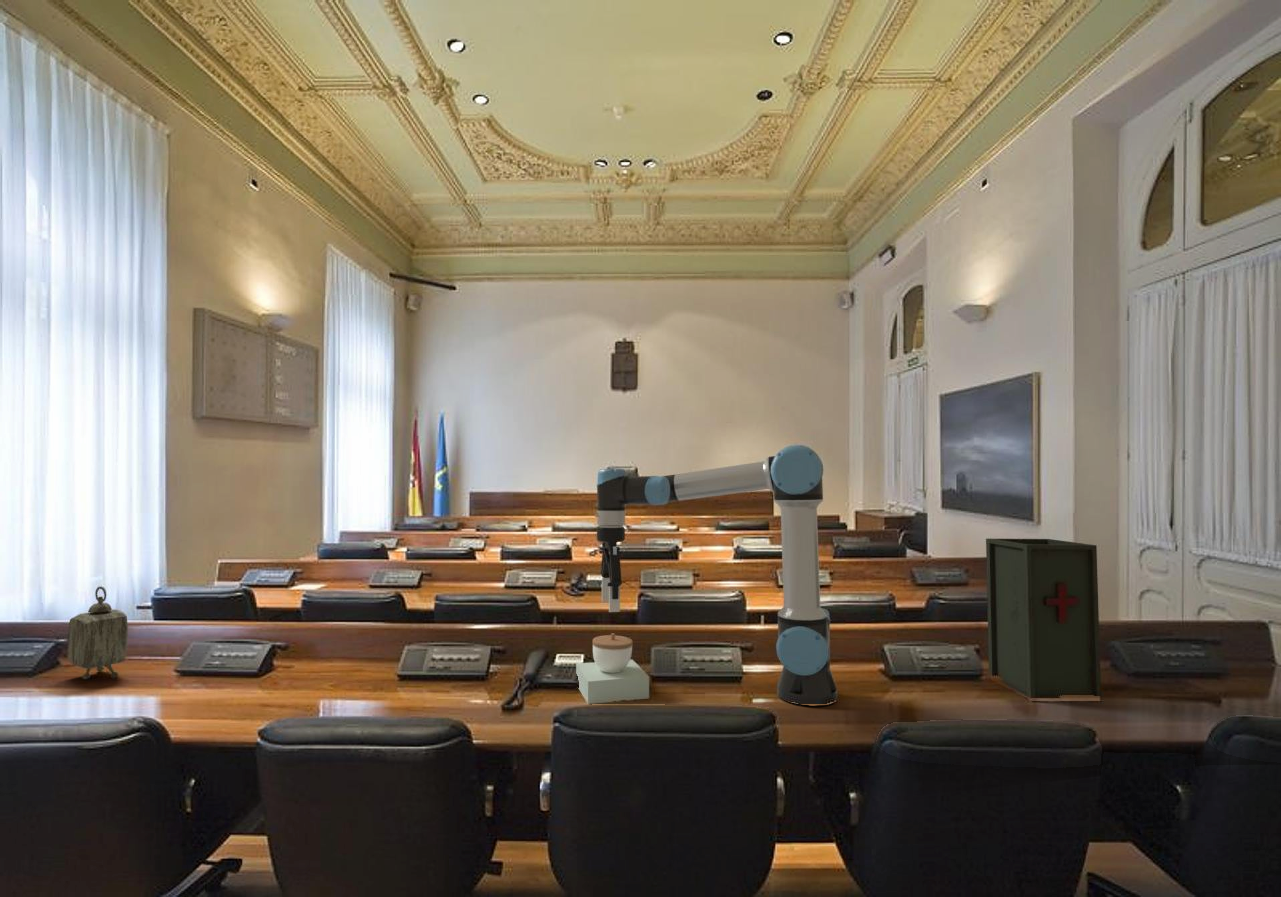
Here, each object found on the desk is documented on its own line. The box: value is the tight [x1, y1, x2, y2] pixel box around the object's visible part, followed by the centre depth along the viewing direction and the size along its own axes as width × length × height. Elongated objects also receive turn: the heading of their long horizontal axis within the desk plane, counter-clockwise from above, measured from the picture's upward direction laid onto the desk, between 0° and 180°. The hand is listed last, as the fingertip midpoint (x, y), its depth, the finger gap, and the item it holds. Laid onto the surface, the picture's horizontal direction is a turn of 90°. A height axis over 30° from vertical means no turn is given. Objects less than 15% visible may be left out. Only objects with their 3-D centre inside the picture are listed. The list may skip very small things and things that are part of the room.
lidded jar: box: [592, 632, 634, 673], centre depth 167 cm, size 11×11×9 cm
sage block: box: [575, 659, 650, 705], centre depth 167 cm, size 16×16×6 cm
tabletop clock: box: [67, 585, 128, 680], centre depth 175 cm, size 14×9×25 cm, turn 58°
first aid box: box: [985, 538, 1102, 698], centre depth 171 cm, size 18×18×40 cm
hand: (610, 606), depth 167 cm, fingers open, 13 cm apart
